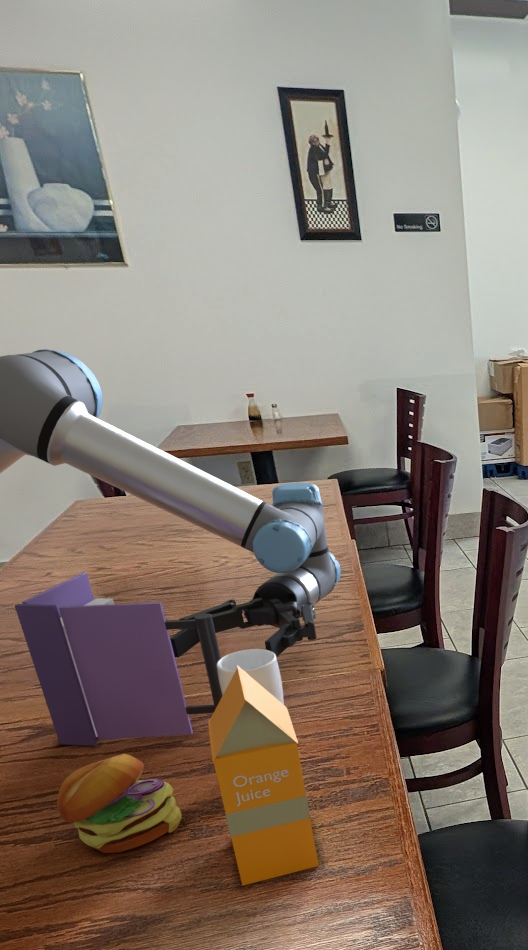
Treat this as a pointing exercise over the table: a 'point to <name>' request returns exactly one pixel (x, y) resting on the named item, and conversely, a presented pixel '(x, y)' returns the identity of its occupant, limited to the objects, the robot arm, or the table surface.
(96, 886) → the table surface
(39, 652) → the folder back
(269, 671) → the drinking glass
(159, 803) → the cheeseburger
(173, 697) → the folder cover
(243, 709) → the orange juice
